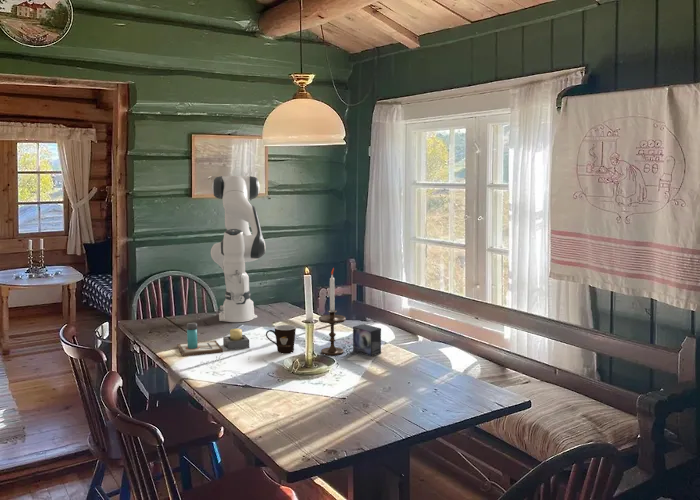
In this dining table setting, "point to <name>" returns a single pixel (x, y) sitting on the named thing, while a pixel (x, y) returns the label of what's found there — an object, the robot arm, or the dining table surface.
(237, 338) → the button cap
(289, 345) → the coffee mug
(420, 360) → the dining table surface
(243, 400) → the dining table surface
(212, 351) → the board
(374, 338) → the small box
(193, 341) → the teal bottle
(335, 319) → the candlestick
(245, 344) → the button housing
